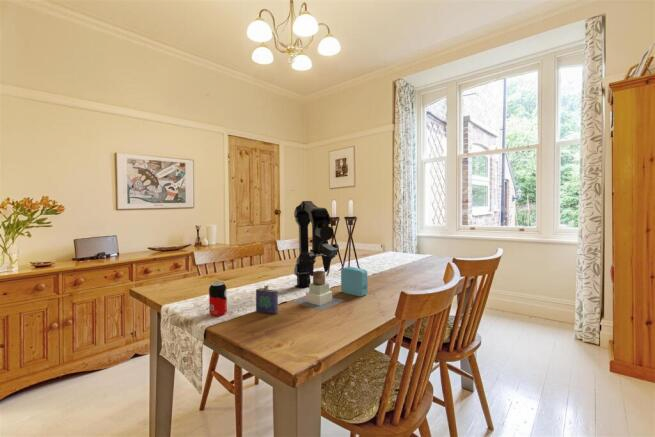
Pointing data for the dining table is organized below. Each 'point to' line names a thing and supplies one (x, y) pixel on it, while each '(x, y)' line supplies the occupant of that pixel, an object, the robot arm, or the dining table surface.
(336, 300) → the slate mat
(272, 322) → the dining table surface
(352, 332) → the dining table surface
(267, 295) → the flask
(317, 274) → the brown small cylinder
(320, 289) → the tower top
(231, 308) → the dining table surface
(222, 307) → the beverage can
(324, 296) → the tower base
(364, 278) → the data package
